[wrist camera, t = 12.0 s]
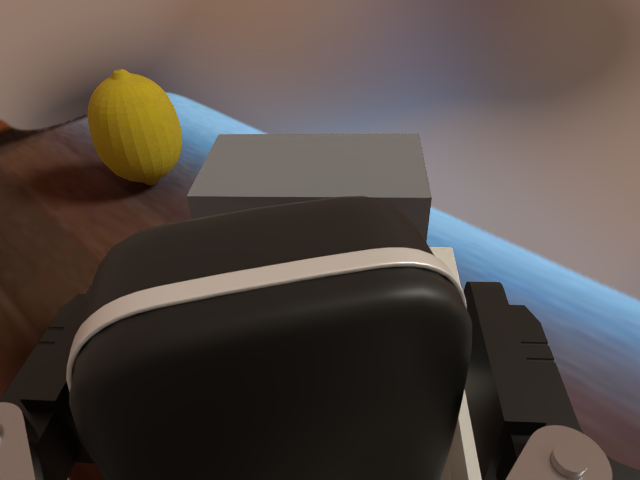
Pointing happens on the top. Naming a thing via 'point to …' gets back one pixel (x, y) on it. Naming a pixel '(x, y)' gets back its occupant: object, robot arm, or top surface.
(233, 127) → the top surface
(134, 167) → the lemon
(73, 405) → the battery charger
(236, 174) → the dock
